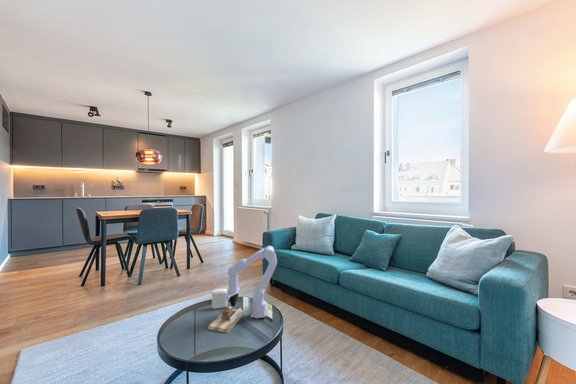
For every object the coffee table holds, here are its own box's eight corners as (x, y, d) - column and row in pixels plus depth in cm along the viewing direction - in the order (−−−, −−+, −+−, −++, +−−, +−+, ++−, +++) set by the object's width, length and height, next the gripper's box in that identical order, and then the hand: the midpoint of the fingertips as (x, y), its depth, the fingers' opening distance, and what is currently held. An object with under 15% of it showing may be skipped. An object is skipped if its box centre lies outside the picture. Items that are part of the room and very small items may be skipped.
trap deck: (244, 313, 169) (244, 310, 169) (227, 332, 148) (227, 329, 148) (228, 311, 173) (228, 308, 172) (208, 329, 152) (208, 325, 151)
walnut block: (232, 316, 162) (232, 308, 162) (229, 320, 157) (229, 312, 157) (226, 315, 163) (226, 307, 163) (222, 319, 159) (222, 311, 158)
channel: (241, 311, 169) (241, 308, 168) (231, 321, 156) (231, 318, 156) (230, 309, 171) (230, 306, 171) (219, 319, 159) (219, 316, 158)
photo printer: (227, 304, 182) (227, 286, 181) (228, 307, 177) (227, 289, 177) (211, 306, 178) (211, 288, 178) (212, 309, 174) (211, 291, 174)
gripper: (233, 279, 174) (233, 299, 175) (221, 288, 160) (221, 310, 161) (242, 281, 172) (242, 301, 173) (231, 289, 158) (231, 312, 159)
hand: (233, 305), depth 167 cm, fingers closed
